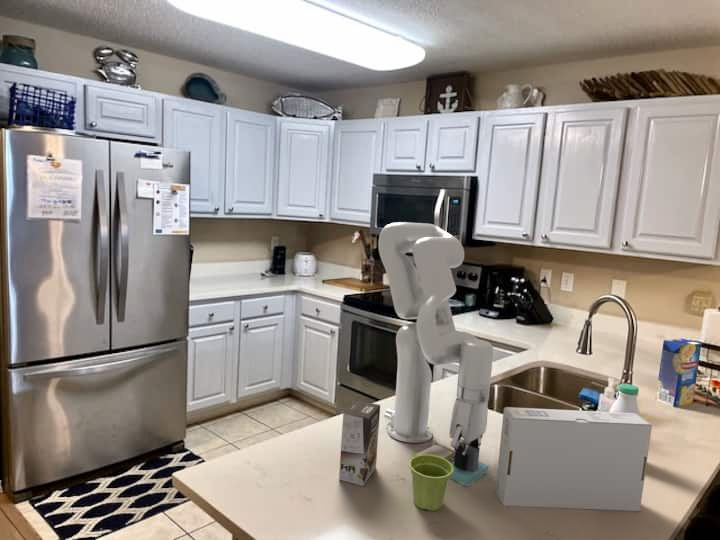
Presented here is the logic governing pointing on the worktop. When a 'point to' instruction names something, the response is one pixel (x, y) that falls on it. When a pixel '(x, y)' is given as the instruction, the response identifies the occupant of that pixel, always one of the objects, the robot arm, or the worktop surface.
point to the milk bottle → (626, 400)
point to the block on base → (470, 468)
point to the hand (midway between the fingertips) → (466, 463)
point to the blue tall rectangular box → (678, 372)
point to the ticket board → (438, 452)
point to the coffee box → (359, 442)
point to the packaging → (572, 459)
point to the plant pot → (430, 480)
